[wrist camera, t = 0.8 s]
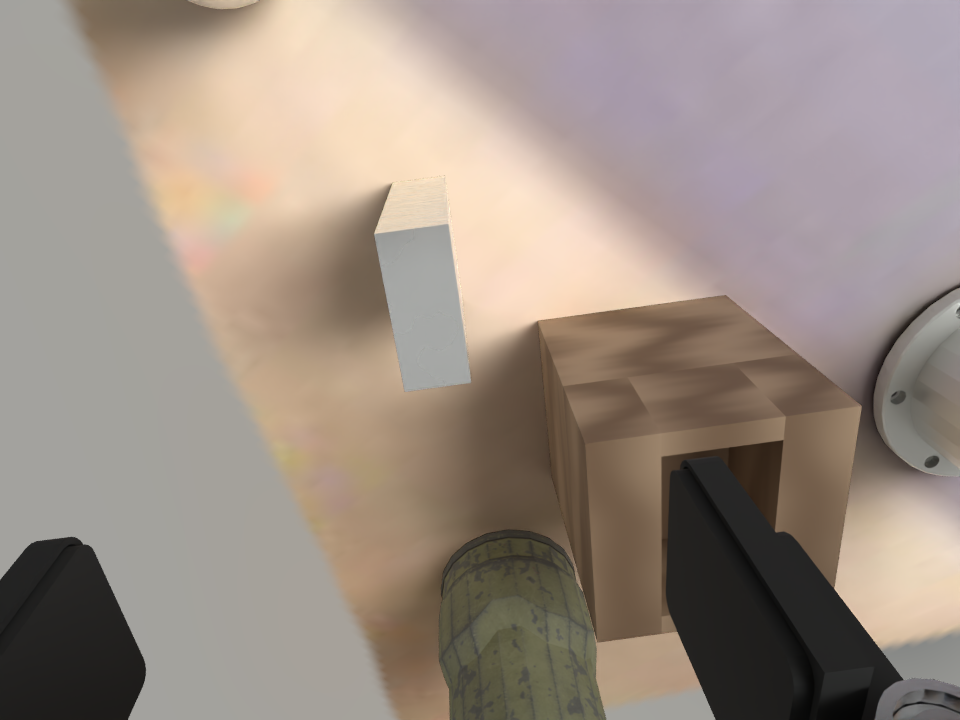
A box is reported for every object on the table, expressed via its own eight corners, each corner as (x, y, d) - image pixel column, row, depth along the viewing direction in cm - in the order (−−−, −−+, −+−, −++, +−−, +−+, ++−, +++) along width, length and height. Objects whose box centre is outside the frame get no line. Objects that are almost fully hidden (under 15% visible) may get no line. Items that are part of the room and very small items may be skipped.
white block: (445, 175, 30) (448, 223, 21) (462, 294, 33) (471, 382, 24) (392, 182, 30) (373, 233, 21) (413, 301, 33) (404, 391, 24)
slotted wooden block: (725, 295, 34) (861, 406, 23) (718, 453, 38) (830, 610, 27) (537, 320, 34) (585, 443, 23) (551, 476, 38) (597, 642, 27)
